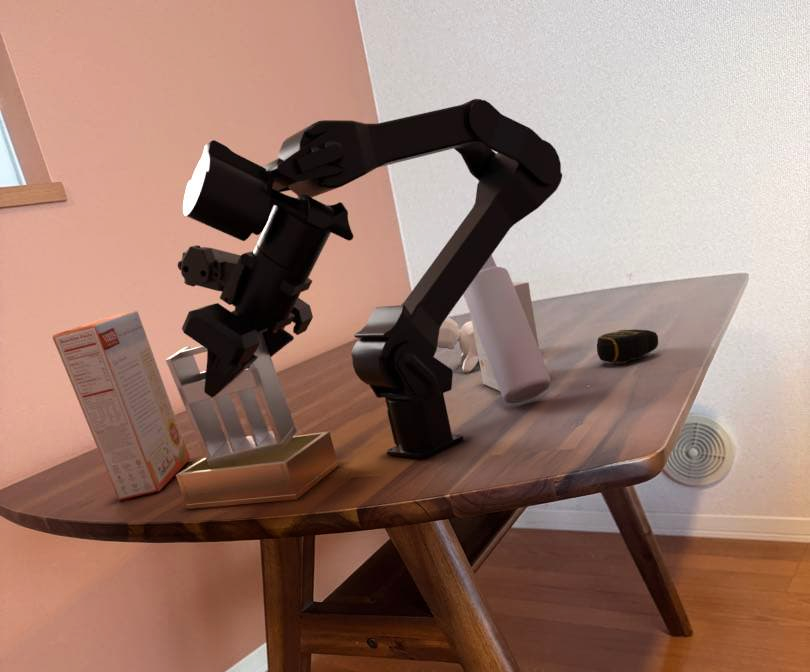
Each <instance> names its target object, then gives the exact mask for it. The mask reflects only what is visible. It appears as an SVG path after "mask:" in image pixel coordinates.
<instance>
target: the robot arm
mask: <svg viewBox="0 0 810 672" xmlns="http://www.w3.org/2000/svg"><path fill="white" fill-rule="evenodd" d="M449 150H450V151H451V150H455V151H456V152H457V153H458V154H460V155H461V157H462V160H463V162H464V163H465V165H466V167H467V169H468V172H469V173H470V174H471V176H472V177H474V178H475V179H476V180H477V181H478V183H477V185H476V186H477V187H476V192H475V200H474V204H473V206H472V208H471V209H470V211H469V212H468V214H467V215H466V216H465V217H464V219H463V220H462V221H461V223H460V225H459V226H458V228H457V229H456V230H455V232H454V233H453V234H452V235H451V236H450V238H449V240H448V241H447V242H446V243H445V245H444V246H443V248H442V249H441V251H440V252H439V253H438V255H437V256H436V257H435V259H434V260H433V261H432V263H431V264H430V266H429V267H428V268H427V269H426V271H425V273H424V274H423V275H422V276H421V278H420V280H419V281H418V282H417V284H416V285H415V286H414V287H413V289H412V291H410V293H409V295H408V296H407V297H406V298H405V300H404V301H403V302H402V303H401V304H400V305H399V304H398V305H389V306H388V305H387V306H377V307H375V309H374V310H373V311H372V312H371V314H370V316H369V317H368V320H367V321H366V323H365V325H364V326H363V327H362V328H361V330H359V331H357V332H356V333H354V335H353V336H354V338H356V339H357V340H356V342H355V344H354V346H353V347H352V350H351V354H350V355H351V360H352V367H353V371H354V373H355V374H356V376H357V378H358V379H359V380H360V381H361V382H363V383H364V384H366V385H368V386H369V387H370V389H371V390H372V392H373V394H374V396H375V397H376V398H379V399H381V398H384V399H385V400H384V401H385V405H386V408H387V409H386V410H387V411H386V413H387V417H388V421H389V425H390V430H391V434H392V439H393V442H394V445H395V446H392V447H390V448H388V449H386V450H385V451H386V455H387V456H397V457H406V458H415V459H425V458H427V457H430V456H431V455H433V454H435V453H438V452H441V451H442V450H444V449H446V448H448V447H450V446H453V445H455V444H456V443H457V444H458V443H459V442H460V441H463V440H464V438H465V437H464V435H463V434H457V433H452V428H451V424H450V419H449V414H448V409H447V404H446V399H445V395H444V394H445V393H447V392H450V391H451V390H452V388H453V375H454V371H453V369H452V368H450V367H449V366H448V365H446V364H445V363H443V362H442V361H441V360H439V359H437V358H436V357H434V356H435V355H436V353H437V350H438V347H437V344H438V337H439V330H440V327H441V325H442V323H443V322H444V320H445V319H446V318H447V317H448V316H449V315H450V314H451V312H452V311H453V310H454V308H455V307H456V306H457V304H458V302H459V301H460V300H461V298H462V297H463V296H464V295H463V294H464V292H465V291H466V290H467V288H468V287H469V286H470V284H471V283H472V281H473V280H474V279H475V277H476V276H477V274H478V273H479V272H480V270H481V269H482V267H483V266H484V265H485V263H486V262H487V260H488V259H489V258H490V256H491V255H492V256H493V253H494V252H495V251H496V249H497V248H498V246H499V245H500V244H501V242H502V241H503V239H505V237H506V235H507V233H508V232H509V231H510V230H511V228H512V227H513V226H515V225H516V224H518V223H519V222H520V221H521V220H523V219H525V218H526V217H528V216H529V215H530V214H532V213H533V212H534V211H536V210H537V209H539V208H540V207H541V206H542V205H543V204H544V203H545V202H546V201H547V200H549V198H550V197H551V196H553V194H555V192H556V191H557V190H558V188H559V186H560V184H561V183H562V179H563V173H562V165H561V160H560V156H559V153H558V151H557V150H556V148H555V147H554V145H552V144H551V142H548V141H547V140H545V139H543V138H542V137H540V136H539V134H537V132H536V131H534V130H533V129H532V128H531V127H529V126H527V125H524V124H522V123H520V122H519V121H516V120H515V119H512V118H510V117H508V116H506V115H504V114H502V113H501V112H500V111H499V110H498V109H497V108H496V107H494V105H493V104H491V103H490V102H489V101H487V100H485V99H481V98H474V99H471V100H469V101H466V102H465V103H462V104H458V105H454V106H449V107H446V108H441V109H435V110H432V111H431V110H430V111H428V112H423V113H419V114H414V115H410V116H409V115H408V116H405V117H401V118H396V119H391V120H387V121H383V122H378V123H365V122H361V121H356V120H349V119H348V120H342V119H341V120H339V119H338V120H337V119H336V120H335V119H334V120H332V119H324V120H323V119H322V120H318V121H315V122H313V123H312V124H310V125H308V126H306V127H305V128H303V129H301V130H298V132H296V133H294V134H292V135H291V136H289V137H287V138H286V139H284V141H283V142H282V144H281V146H280V149H279V150H278V156H277V158H276V159H275V160H272V161H271V162H268V163H267V164H264V165H262V166H261V165H260V164H258V163H255V162H254V161H251V160H250V159H248V158H246V157H244V156H242V155H240V154H237V153H236V152H234V151H233V150H231V149H230V148H229V147H228V146H226V145H225V144H223V143H221V142H220V141H217V140H215V139H212V140H211V141H209V142H208V143H206V144H205V145H204V148H203V152H202V154H201V158H199V160H198V163H197V164H196V166H195V169H194V171H193V173H192V177H191V179H189V180H188V182H187V184H186V187H185V192H184V196H183V203H182V213H183V215H184V216H185V217H186V218H189V219H191V220H193V221H196V222H198V223H201V224H203V225H206V226H208V227H210V228H212V229H215V230H217V231H219V232H221V233H224V234H226V235H228V236H230V237H233V238H235V239H237V240H239V241H242V242H246V241H247V240H248V239H249V238H250V237H251V235H252V234H253V235H255V236H259V238H258V241H257V243H256V245H255V247H254V249H253V251H248V252H244V253H241V254H237V253H233V252H230V251H225V250H221V249H218V248H213V247H208V246H207V247H206V246H201V245H198V244H197V245H192V246H189V247H188V248H187V249H186V250H185V251H184V252H182V256H181V260H179V261H178V262H177V268H178V270H179V271H180V274H181V276H182V277H183V283H184V284H185V285H186V286H189V287H196V286H197V287H201V288H205V289H209V290H212V291H217V292H221V294H220V295H219V300H221V301H223V302H224V303H225V304H227V305H229V306H233V307H234V309H233V310H232V311H230V310H229V309H227V308H226V307H224V306H223V305H221V304H220V303H218V302H217V303H212V304H207V305H204V306H201V307H198V308H195V309H192V310H189V311H188V313H187V316H186V317H185V320H184V323H183V324H182V327H181V330H182V332H183V334H185V335H186V336H187V337H188V338H191V339H192V340H193V341H194V342H197V344H199V345H200V346H204V347H205V348H207V352H206V367H205V368H206V369H205V371H206V378H205V388H204V392H205V393H206V394H207V395H209V396H210V397H215V396H216V395H217V394H218V393H219V392H220V391H222V390H223V389H224V388H225V387H226V386H227V385H228V384H229V383H231V382H232V381H233V380H234V379H235V378H236V377H237V376H238V375H239V374H241V373H242V372H243V371H244V370H245V369H246V368H247V367H248V366H250V365H251V364H252V363H253V362H254V361H255V360H256V359H257V358H258V357H257V356H256V355H254V353H255V352H256V350H257V348H258V346H259V344H260V341H259V337H258V335H259V334H261V333H263V336H264V339H265V342H266V345H267V348H268V351H269V353H270V356H271V358H272V357H273V356H274V355H276V354H277V353H278V352H280V350H282V349H283V348H285V347H286V346H287V345H289V344H290V343H291V342H293V341H294V339H295V337H294V336H293V334H295V335H296V336H299V335H301V334H303V333H305V332H306V331H307V329H308V328H309V326H310V324H311V322H312V320H313V318H314V316H313V312H312V308H311V305H310V304H309V303H307V302H306V301H305V300H303V299H301V298H300V295H301V293H303V292H305V291H308V290H309V289H310V287H311V285H312V283H313V280H312V279H311V278H310V275H311V273H312V271H313V269H314V267H315V265H316V263H317V262H318V259H319V257H320V255H321V253H322V251H323V249H324V247H325V245H326V244H327V242H328V240H329V237H330V235H331V234H334V235H336V236H337V237H340V238H341V239H344V240H345V241H352V240H353V239H354V233H353V231H352V228H351V225H350V222H349V211H348V209H347V207H346V206H345V205H344V203H343V202H341V201H340V202H337V203H335V204H331V205H330V204H325V203H323V202H322V201H319V200H317V199H315V197H318V196H320V195H322V194H325V193H328V192H330V191H333V190H336V189H339V188H342V187H344V186H346V185H348V184H349V183H352V182H354V181H356V180H357V179H360V178H362V177H364V176H366V175H368V174H369V173H371V172H372V171H374V170H376V169H378V168H382V167H386V166H390V165H394V164H397V163H402V162H406V161H409V160H414V159H418V158H421V157H425V156H429V155H433V154H437V153H441V152H445V151H449ZM288 191H289V192H290V191H291V192H292V193H294V194H295V195H296V196H297V197H294V196H291V195H287V194H285V193H283V192H288ZM292 323H293V324H294V326H293V327H292V329H293V330H292V333H293V334H291V333H290V332H288V331H287V330H286V329H285V328H286V327H287V326H290V325H291V324H292Z"/></svg>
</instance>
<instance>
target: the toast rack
mask: <svg viewBox="0 0 810 672" xmlns="http://www.w3.org/2000/svg"><path fill="white" fill-rule="evenodd" d="M258 337H259V341H260V344H259V346H258V348H257V350H256V352H255V353H254V355H256V356H257V357H258V358H257V359H256V360H255V361H254V362H253V363H252V364H251V365H250V366H248V367H247V368H246V369H245V370H244V371H243V372H242V373H241V374H239V375H238V376H237V377H236V378H235V379H234V380H233V381H232V382H231V383H229V384H228V385H227V386H226V387H225V388H224V389H223V390H222V391H220V392H219V393H218V394H217V395H216V396H215V397H210V396H209V395H207V394H206V393H205V392H204V388H205V378H206V370H204V371H200V368H199V366H198V363H197V360H196V358H195V355H198V354H203V353H207V348H205V347H204V346H202V345H200V346H196V347H193V348H191V346H190V345H188V346H185V347H183V348H182V349H180V350H178V351H177V352H175V353H173V354H172V355H171V356H169V357H168V358H166V359H165V361H166V364H167V365H166V366H167V367H168V369H169V372H170V374H171V377H172V379H173V382H174V384H175V386H176V389H177V391H178V394H179V396H180V399H181V401H182V404H183V406H184V408H185V411H186V414H187V416H188V419H189V421H190V423H191V425H192V428H193V430H194V433H195V435H196V438H197V440H198V442H199V446H200V447H201V450H202V452H203V455H204V458H205V457H206V459H207V462H208V465H209V466H210V465H214V464H219V463H223V462H227V461H232V460H236V459H241V458H245V457H250V456H254V455H258V454H263V453H267V452H272V451H276V450H281V449H284V448H285V447H286V446H287V444H288V443H289V441H290V440H291V439H292V437H293V436H296V434H297V429H296V426H295V422H294V420H293V416H292V413H291V411H290V408H289V405H288V402H287V400H286V396H285V394H284V391H283V388H282V385H281V382H280V379H279V377H278V374H277V370H276V367H275V365H274V362H273V359H272V357H271V356H270V353H269V351H268V348H267V345H266V342H265V339H264V336H263V333H261V334H259V335H258ZM254 389H257V393H258V394H259V398H260V400H261V403H262V405H263V408H264V411H265V415H266V416H267V419H268V422H269V425H270V427H271V430H269V428H268V425H267V423H266V420H265V418H264V414H263V412H262V409H261V406H260V404H259V401H258V398H257V396H256V393H255V390H254ZM232 394H236V398H237V400H238V403H239V406H240V408H241V410H242V413H243V417H244V418H245V421H246V425H247V426H248V429H249V432H250V435H248V436H246V432H245V430H244V428H243V425H242V422H241V420H240V417H239V414H238V412H237V409H236V407H235V403H234V401H233V398H232V396H231V395H232Z"/></svg>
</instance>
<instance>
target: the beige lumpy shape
mask: <svg viewBox="0 0 810 672" xmlns="http://www.w3.org/2000/svg"><path fill="white" fill-rule="evenodd" d="M458 342H459V343H458ZM457 343H458V344H459V349H460V351H461V356H460V360H459V364H460V365H462V367H461V369H462V371H463V372H464V373H467V374H469V373H470V372H472V370H473V369H474V368H475V367H476V365H477V363H478V362H479V357H478V352H477V346H476V341H475V336H474V330H473V324H472V320H470V321H467V322H465V323H464V324H463V325H462V326H461V328H459V323H457V321H456V320H454V319H452V318H451V317H448V316H447V318H446V319H445V320H444V322H443V323H442V325H441V327H440V330H439V337H438V344H437V348H439V349H449V350H454V349H455V347H456V345H457Z"/></svg>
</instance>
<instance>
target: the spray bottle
mask: <svg viewBox="0 0 810 672" xmlns="http://www.w3.org/2000/svg"><path fill="white" fill-rule="evenodd" d="M512 282H513V280H512V278H511V275H510V273H509V271H508V270H507V269H506V268H505V267H502V266H497V263H496V261H495V260H494V257H493V254H492V255H491V256H490V258H489V259H488V260H487V262H486V263H485V265H484V266H483V267H482V269H481V270H480V272H479V273H478V274H477V276H476V277H475V279H474V280H473V281H472V283H471V284H470V286H469V287H468V288H467V290H466V291H465V292H464V294H463V295H462V296H463V298H464V301H465V304H466V306H467V308H468V311H469V313H470V317H471V316H472V319H473V322H474V324H475V327H476V329H477V332H478V335H479V337H480V340H481V343H482V345H483V348H484V350H485V353H486V356H487V358H488V361H489V363H490V366H491V369H492V371H493V374H494V377H495V379H496V382H497V384H498V387H499V390H500V391H499V392H500V395H501V397H502V400H503V401H504V402H505V403H507V404H519V403H524V402H526V401H529V400H532V399H534V398H536V397H538V396H539V395H541V394H543V393H544V392H545V391H547V390H548V389H549V387H550V386H551V383H552V379H551V376H550V374H549V371H548V368H547V366H546V364H545V361H544V358H543V356H542V353H541V351H540V347H539V348H538V346H537V343H536V341H535V338H534V336H533V333H532V331H531V328H530V326H529V323H528V321H527V318H526V315H525V313H524V310H523V308H522V305H521V303H520V300H519V298H518V295H517V293H516V290H515V288H514V285H513V283H512ZM472 319H471V320H472Z"/></svg>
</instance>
